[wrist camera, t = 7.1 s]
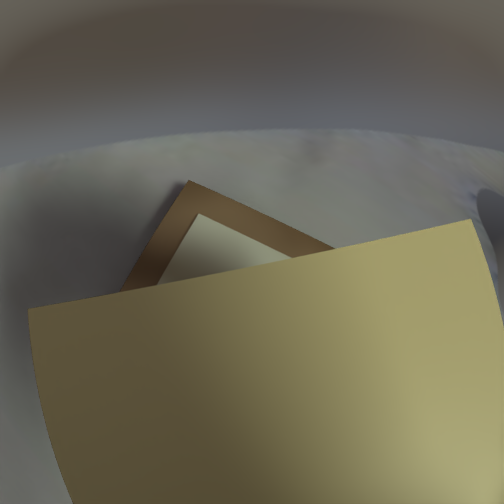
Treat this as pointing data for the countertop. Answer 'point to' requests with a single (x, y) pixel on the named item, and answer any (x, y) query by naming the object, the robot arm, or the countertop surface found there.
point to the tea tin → (285, 381)
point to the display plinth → (214, 240)
